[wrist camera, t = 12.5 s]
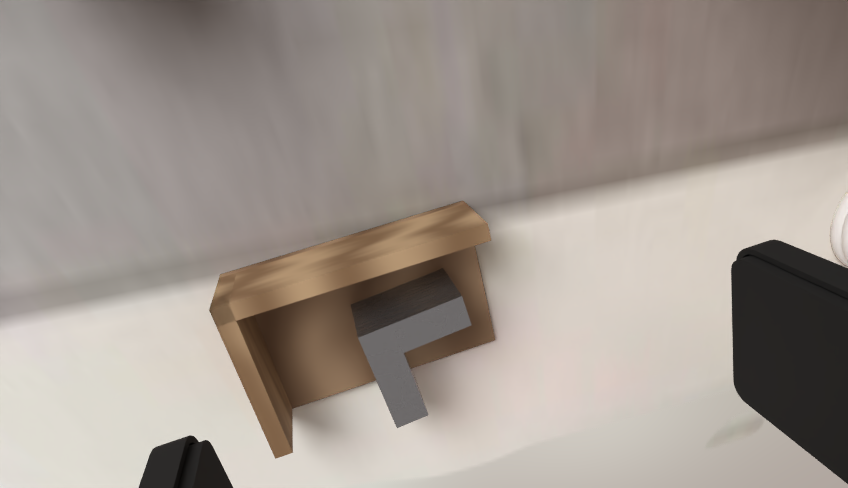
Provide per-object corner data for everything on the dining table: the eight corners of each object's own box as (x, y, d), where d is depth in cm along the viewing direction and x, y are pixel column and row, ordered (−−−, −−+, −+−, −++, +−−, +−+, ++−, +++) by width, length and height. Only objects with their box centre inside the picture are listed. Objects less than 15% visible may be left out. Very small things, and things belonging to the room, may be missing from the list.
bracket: (350, 304, 41) (358, 337, 36) (443, 267, 42) (462, 295, 37) (386, 387, 44) (397, 428, 39) (471, 352, 45) (492, 388, 40)
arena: (462, 200, 41) (487, 223, 36) (492, 336, 45) (518, 373, 40) (220, 274, 39) (209, 310, 33) (277, 408, 43) (275, 458, 38)
